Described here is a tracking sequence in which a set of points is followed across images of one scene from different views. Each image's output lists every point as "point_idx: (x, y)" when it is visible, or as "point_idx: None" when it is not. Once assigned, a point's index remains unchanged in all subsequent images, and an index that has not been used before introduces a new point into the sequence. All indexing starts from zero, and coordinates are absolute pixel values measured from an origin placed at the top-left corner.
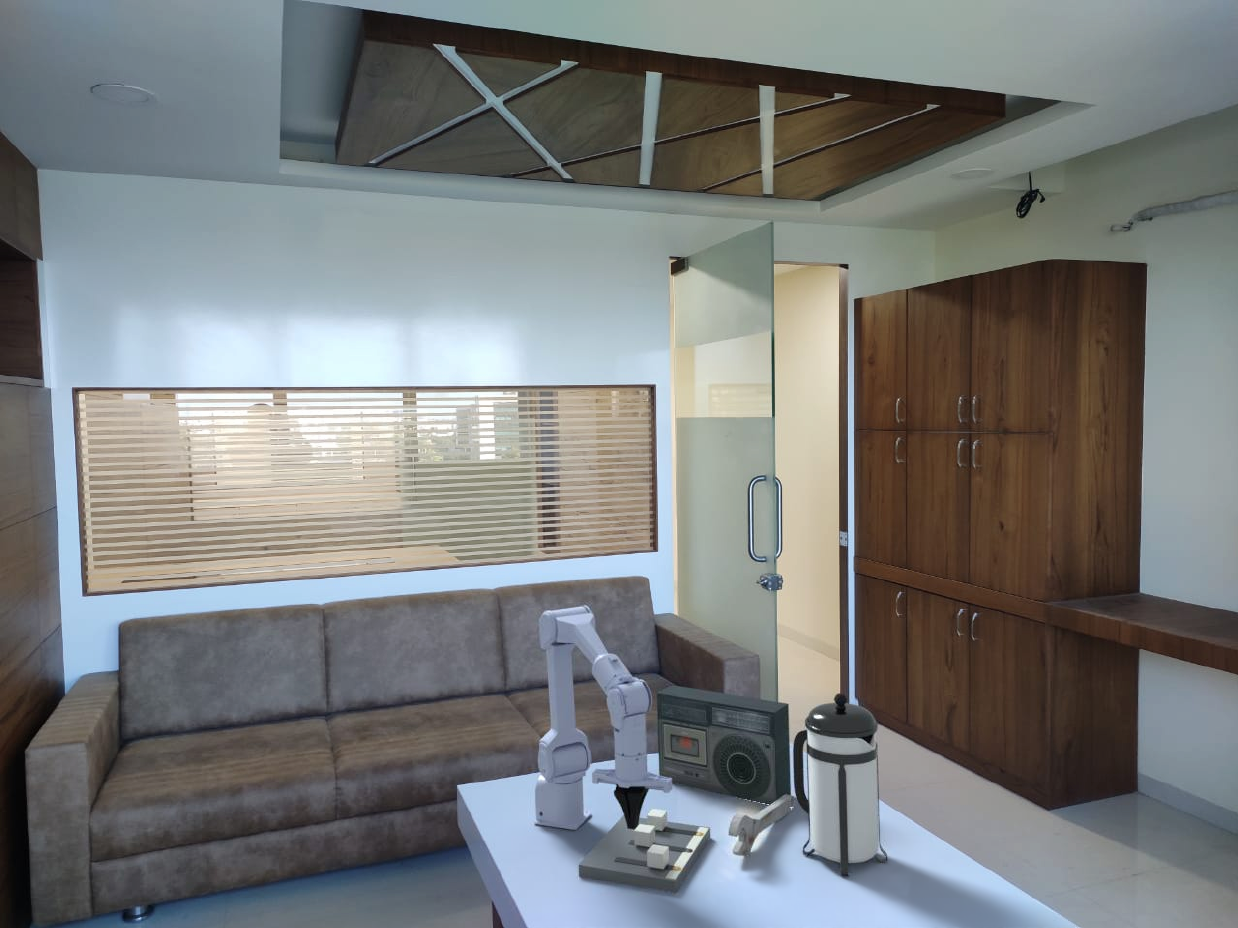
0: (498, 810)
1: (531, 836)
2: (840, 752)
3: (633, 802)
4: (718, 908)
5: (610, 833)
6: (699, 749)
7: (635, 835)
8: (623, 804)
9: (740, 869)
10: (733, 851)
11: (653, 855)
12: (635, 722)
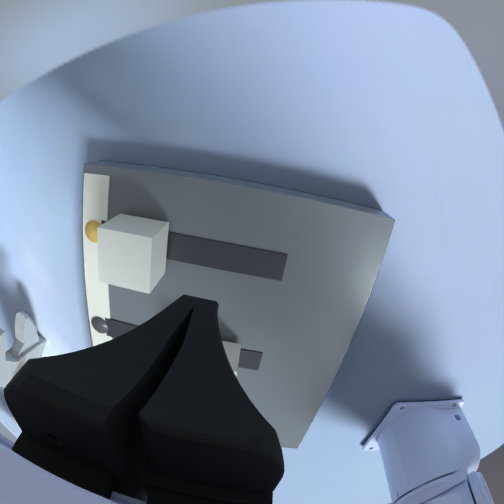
0: (497, 412)
1: (474, 363)
2: None
3: (102, 364)
4: (21, 124)
5: (319, 390)
6: None
7: (234, 361)
8: (203, 374)
9: (25, 285)
10: (23, 314)
11: (133, 230)
12: None
